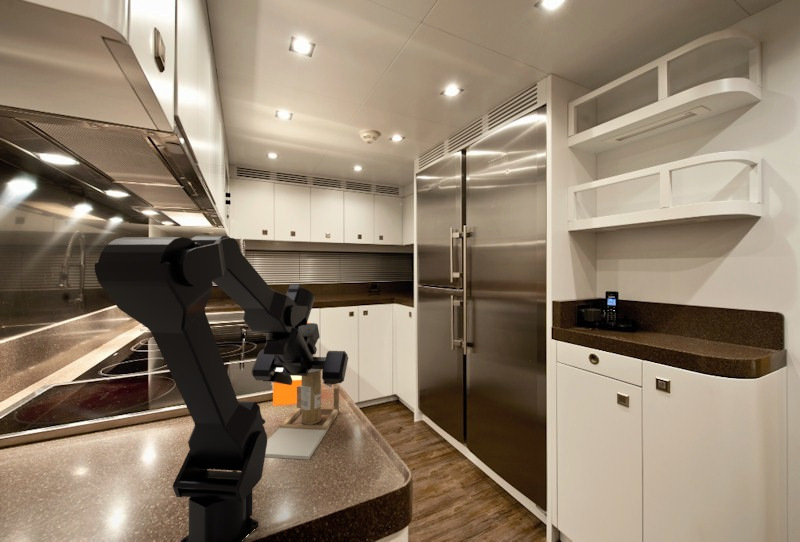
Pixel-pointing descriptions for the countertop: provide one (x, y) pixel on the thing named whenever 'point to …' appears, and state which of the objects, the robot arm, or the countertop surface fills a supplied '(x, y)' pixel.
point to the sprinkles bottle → (311, 397)
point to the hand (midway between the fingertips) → (311, 383)
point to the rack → (332, 412)
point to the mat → (294, 443)
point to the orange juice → (286, 391)
